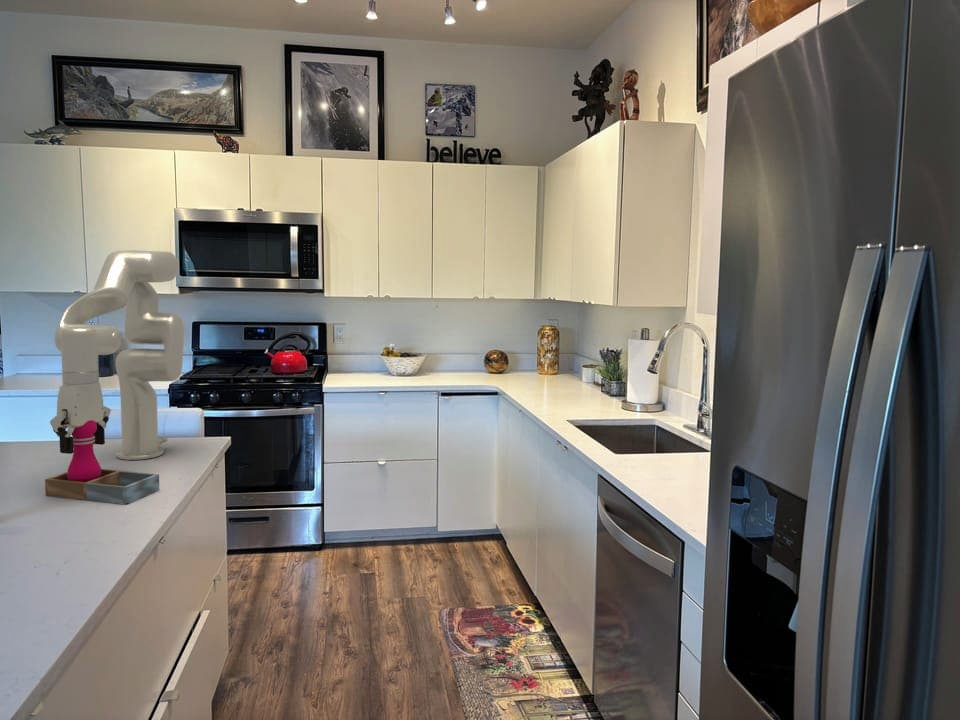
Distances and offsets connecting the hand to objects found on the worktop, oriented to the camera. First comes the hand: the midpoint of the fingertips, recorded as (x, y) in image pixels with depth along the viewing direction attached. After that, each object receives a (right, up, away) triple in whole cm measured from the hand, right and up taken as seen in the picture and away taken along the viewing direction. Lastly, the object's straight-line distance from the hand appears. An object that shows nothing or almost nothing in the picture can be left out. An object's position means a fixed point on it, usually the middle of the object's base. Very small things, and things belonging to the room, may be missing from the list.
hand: (83, 448), depth 161 cm
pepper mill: (0, -11, +1) cm, 11 cm away
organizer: (+5, -11, 0) cm, 12 cm away
